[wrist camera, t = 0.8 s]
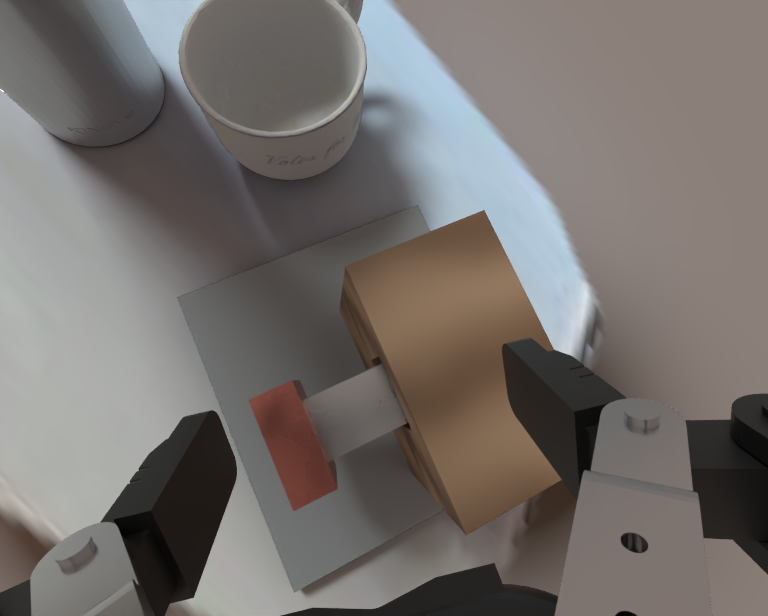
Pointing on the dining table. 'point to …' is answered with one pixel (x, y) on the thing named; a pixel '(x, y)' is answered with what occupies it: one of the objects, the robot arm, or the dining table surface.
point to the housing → (451, 363)
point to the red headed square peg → (323, 428)
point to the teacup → (278, 80)
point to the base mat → (316, 372)
